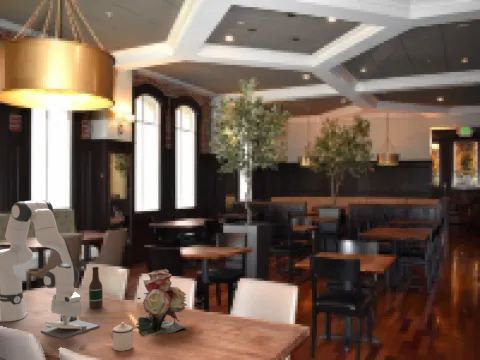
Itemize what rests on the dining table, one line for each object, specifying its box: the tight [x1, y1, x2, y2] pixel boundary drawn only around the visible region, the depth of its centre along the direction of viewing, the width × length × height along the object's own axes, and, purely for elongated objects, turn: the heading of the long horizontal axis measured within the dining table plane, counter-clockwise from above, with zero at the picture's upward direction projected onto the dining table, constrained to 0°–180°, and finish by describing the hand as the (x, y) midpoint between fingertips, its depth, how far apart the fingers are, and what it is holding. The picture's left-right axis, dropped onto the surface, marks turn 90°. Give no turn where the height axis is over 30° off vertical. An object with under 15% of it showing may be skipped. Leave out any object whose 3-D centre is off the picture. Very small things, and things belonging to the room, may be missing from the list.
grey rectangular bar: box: [45, 316, 78, 328], centre depth 267 cm, size 16×5×4 cm, turn 145°
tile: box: [44, 320, 82, 329], centre depth 251 cm, size 12×14×1 cm
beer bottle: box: [88, 266, 104, 309], centre depth 300 cm, size 8×8×24 cm
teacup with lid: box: [109, 321, 134, 352], centre depth 227 cm, size 12×9×12 cm
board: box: [40, 319, 100, 340], centre depth 255 cm, size 18×22×3 cm
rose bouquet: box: [135, 268, 188, 337], centre depth 257 cm, size 26×29×30 cm
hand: (66, 323), depth 251 cm, fingers closed, pressing on tile
